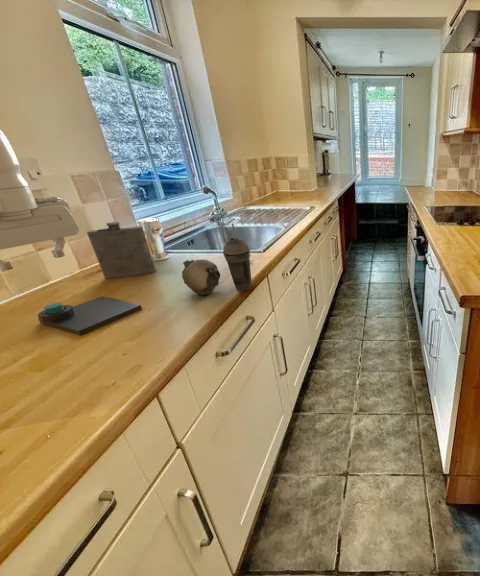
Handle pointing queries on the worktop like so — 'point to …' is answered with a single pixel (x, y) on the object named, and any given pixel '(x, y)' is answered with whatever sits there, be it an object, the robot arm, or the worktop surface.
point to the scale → (88, 315)
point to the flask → (122, 251)
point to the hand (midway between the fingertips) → (34, 263)
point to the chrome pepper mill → (154, 238)
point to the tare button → (54, 308)
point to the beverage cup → (238, 262)
